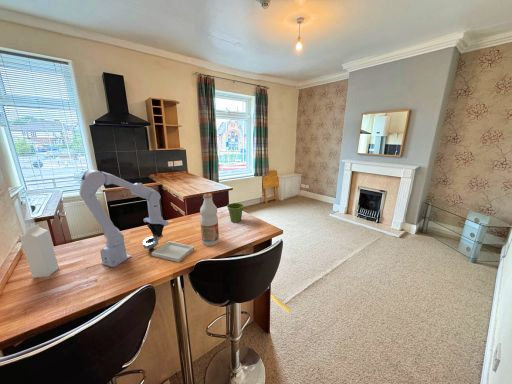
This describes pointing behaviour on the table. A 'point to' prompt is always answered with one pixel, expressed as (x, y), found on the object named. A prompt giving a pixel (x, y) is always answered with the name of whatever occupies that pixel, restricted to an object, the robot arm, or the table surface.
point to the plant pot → (235, 211)
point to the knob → (151, 248)
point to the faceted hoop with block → (154, 243)
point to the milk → (39, 252)
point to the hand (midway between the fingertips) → (157, 235)
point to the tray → (173, 251)
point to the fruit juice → (209, 221)
